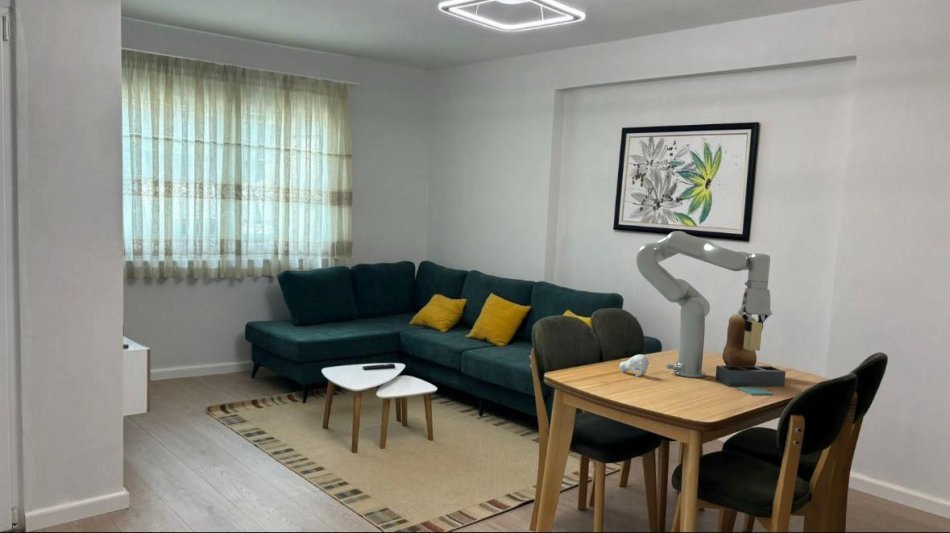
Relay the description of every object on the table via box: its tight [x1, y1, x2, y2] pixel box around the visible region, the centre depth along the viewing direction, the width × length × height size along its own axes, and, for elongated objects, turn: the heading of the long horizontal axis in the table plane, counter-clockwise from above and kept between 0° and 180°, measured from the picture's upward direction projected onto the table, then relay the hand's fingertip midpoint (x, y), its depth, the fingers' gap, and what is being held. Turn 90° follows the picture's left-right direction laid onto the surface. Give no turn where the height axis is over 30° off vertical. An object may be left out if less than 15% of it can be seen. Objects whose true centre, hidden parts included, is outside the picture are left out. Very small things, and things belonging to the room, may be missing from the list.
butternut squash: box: [722, 312, 758, 366], centre depth 304 cm, size 14×13×25 cm
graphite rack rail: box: [715, 365, 787, 388], centre depth 285 cm, size 24×10×6 cm, turn 102°
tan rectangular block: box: [743, 320, 763, 352], centre depth 284 cm, size 4×4×11 cm
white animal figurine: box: [619, 354, 650, 378], centre depth 291 cm, size 6×8×12 cm
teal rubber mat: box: [737, 387, 774, 396], centre depth 272 cm, size 9×9×1 cm
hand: (753, 330), depth 284 cm, fingers closed on tan rectangular block, 4 cm apart
